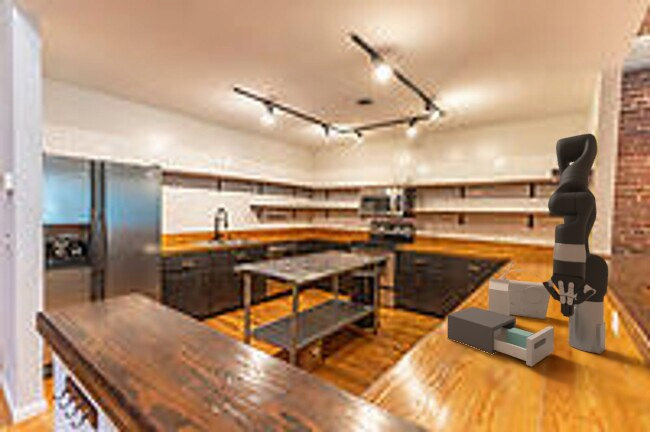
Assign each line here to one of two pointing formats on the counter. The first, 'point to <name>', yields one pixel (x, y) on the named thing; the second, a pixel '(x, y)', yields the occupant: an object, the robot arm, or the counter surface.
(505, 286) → the milk carton
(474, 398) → the counter surface
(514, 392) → the counter surface
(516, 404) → the counter surface
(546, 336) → the drawer
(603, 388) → the counter surface
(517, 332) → the block
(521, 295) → the radio
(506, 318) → the cabinet
